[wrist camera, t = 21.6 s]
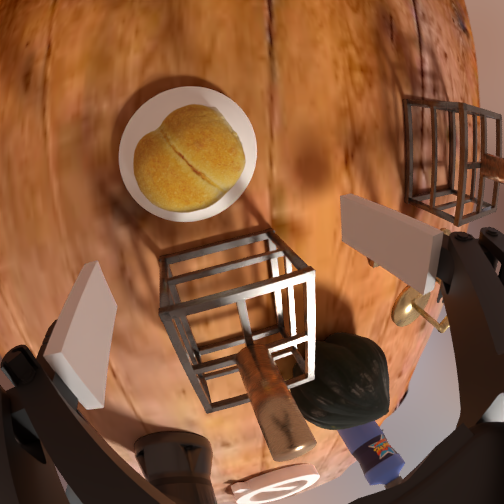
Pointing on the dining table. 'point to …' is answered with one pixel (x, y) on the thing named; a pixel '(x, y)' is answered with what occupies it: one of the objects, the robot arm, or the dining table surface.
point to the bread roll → (189, 160)
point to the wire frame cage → (489, 165)
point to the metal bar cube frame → (249, 339)
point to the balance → (414, 304)
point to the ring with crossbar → (275, 484)
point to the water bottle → (373, 454)
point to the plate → (153, 117)
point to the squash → (344, 383)
